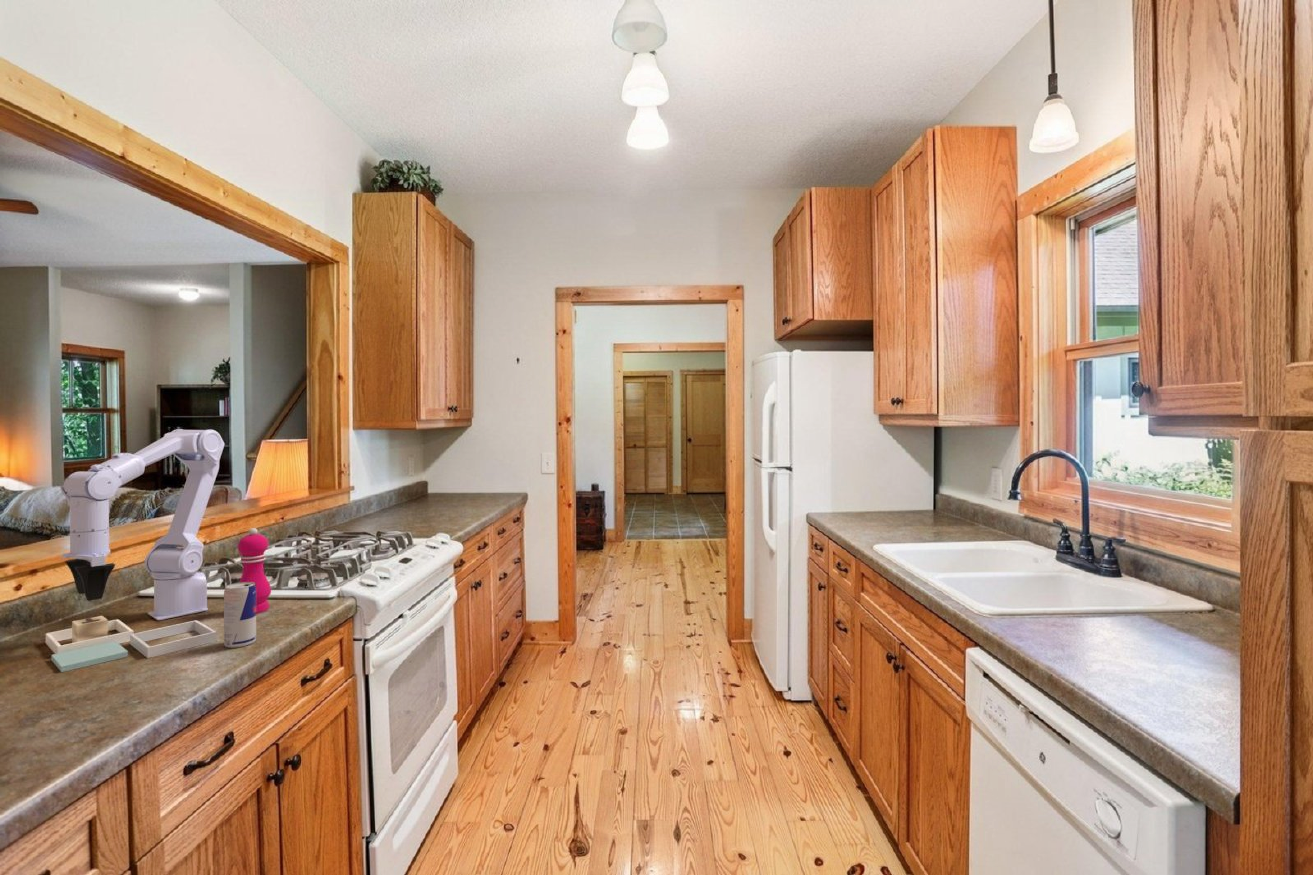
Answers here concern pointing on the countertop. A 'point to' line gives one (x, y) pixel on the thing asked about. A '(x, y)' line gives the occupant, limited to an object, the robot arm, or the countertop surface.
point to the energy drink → (239, 614)
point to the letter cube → (89, 628)
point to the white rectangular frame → (151, 651)
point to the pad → (88, 656)
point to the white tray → (67, 634)
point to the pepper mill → (255, 566)
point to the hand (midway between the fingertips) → (89, 596)
